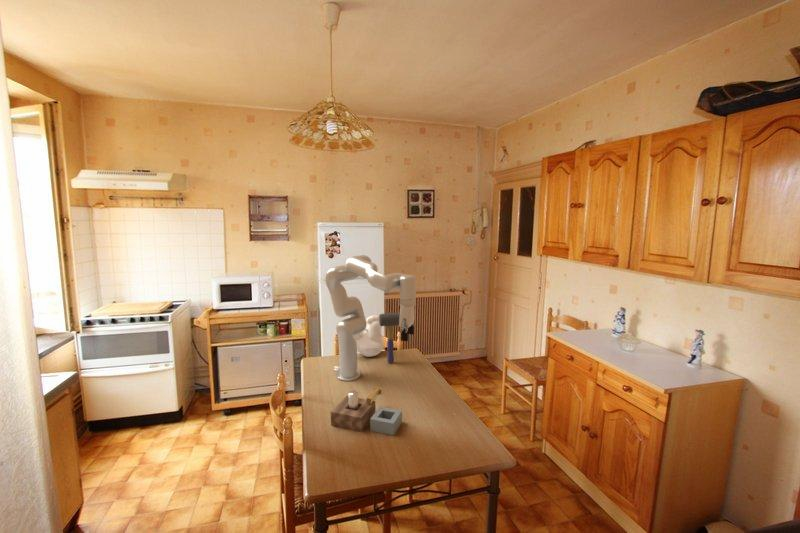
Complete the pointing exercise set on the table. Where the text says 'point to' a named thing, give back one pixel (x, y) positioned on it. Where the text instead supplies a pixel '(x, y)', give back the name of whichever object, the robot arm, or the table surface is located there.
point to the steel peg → (353, 400)
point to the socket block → (352, 414)
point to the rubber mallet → (389, 330)
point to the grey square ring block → (386, 420)
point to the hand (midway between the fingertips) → (407, 337)
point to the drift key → (374, 395)
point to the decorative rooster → (370, 338)
